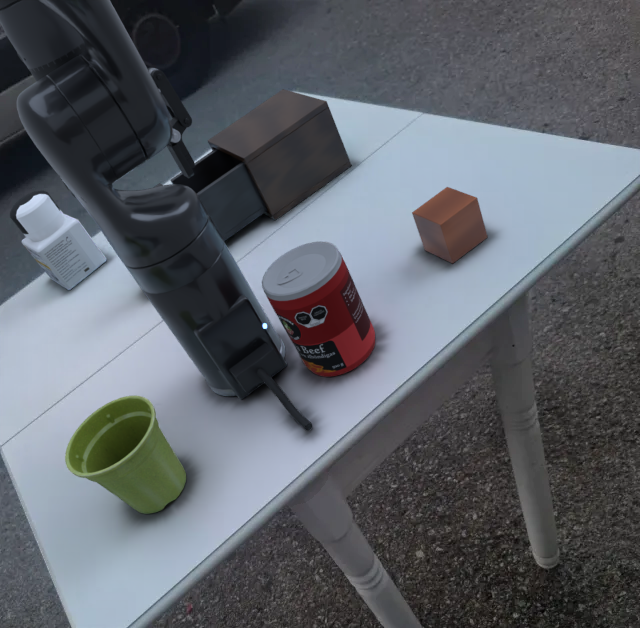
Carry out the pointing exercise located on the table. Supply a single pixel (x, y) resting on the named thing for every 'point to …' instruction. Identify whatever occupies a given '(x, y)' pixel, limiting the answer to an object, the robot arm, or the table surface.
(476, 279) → the table surface
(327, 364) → the canned food
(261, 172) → the cabinet
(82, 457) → the plant pot
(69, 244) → the container
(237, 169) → the drawer
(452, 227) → the block
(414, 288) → the table surface
